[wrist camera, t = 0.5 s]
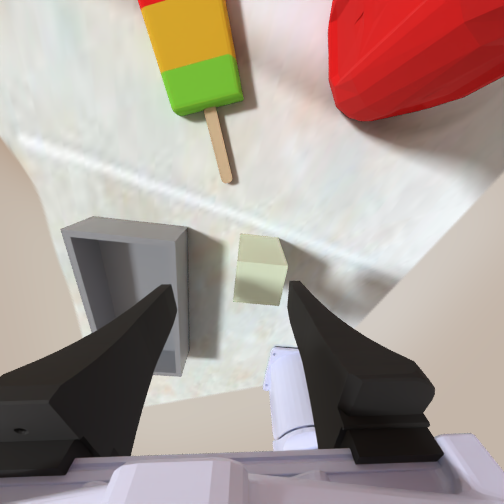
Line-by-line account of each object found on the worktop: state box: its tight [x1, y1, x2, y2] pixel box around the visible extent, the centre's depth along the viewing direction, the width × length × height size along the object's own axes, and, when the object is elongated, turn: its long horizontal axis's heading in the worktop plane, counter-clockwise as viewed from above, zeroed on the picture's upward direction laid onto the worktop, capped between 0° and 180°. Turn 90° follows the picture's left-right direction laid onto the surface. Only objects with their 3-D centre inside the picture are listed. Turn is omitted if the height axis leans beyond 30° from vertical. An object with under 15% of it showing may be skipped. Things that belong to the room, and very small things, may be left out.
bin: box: [61, 216, 189, 377], centre depth 22 cm, size 18×9×4 cm, turn 173°
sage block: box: [233, 234, 288, 306], centre depth 19 cm, size 4×4×6 cm
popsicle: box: [138, 0, 244, 183], centre depth 15 cm, size 6×15×2 cm, turn 12°
